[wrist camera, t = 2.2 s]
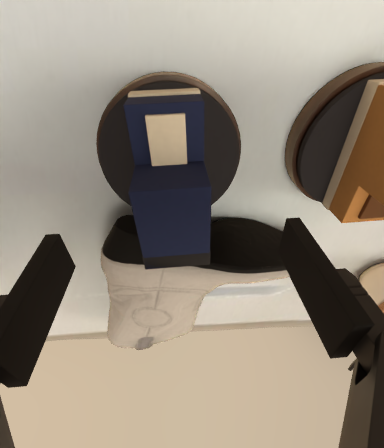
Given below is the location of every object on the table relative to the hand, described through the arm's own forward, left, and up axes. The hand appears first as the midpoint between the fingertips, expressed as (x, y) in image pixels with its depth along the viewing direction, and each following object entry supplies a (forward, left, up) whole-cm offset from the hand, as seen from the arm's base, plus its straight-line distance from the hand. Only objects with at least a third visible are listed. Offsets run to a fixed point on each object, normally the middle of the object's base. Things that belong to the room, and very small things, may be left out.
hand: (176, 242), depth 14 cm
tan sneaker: (+20, 0, -12) cm, 23 cm away
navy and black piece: (0, 0, -12) cm, 12 cm away
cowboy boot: (+2, -21, -15) cm, 26 cm away
